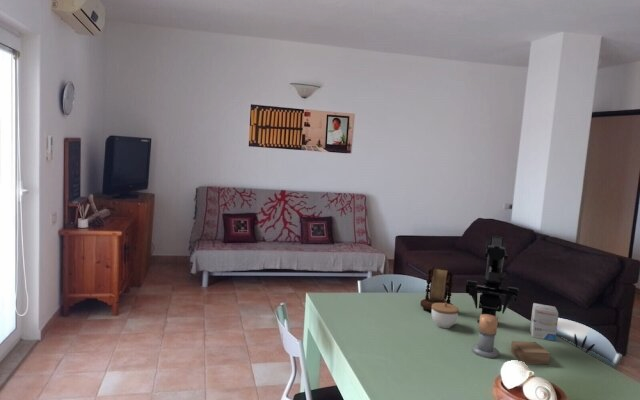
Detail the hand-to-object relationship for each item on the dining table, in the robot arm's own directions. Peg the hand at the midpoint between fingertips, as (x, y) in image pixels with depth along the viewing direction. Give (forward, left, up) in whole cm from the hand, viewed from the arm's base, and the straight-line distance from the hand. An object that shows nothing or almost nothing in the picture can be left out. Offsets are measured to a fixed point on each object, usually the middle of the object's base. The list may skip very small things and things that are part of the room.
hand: (489, 310), depth 168 cm
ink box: (-30, +10, -13) cm, 34 cm away
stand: (-3, +15, -13) cm, 20 cm away
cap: (+6, +3, -5) cm, 9 cm away
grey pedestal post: (+6, +3, -13) cm, 15 cm away
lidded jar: (-5, -20, -13) cm, 25 cm away
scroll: (-20, -32, -13) cm, 40 cm away
